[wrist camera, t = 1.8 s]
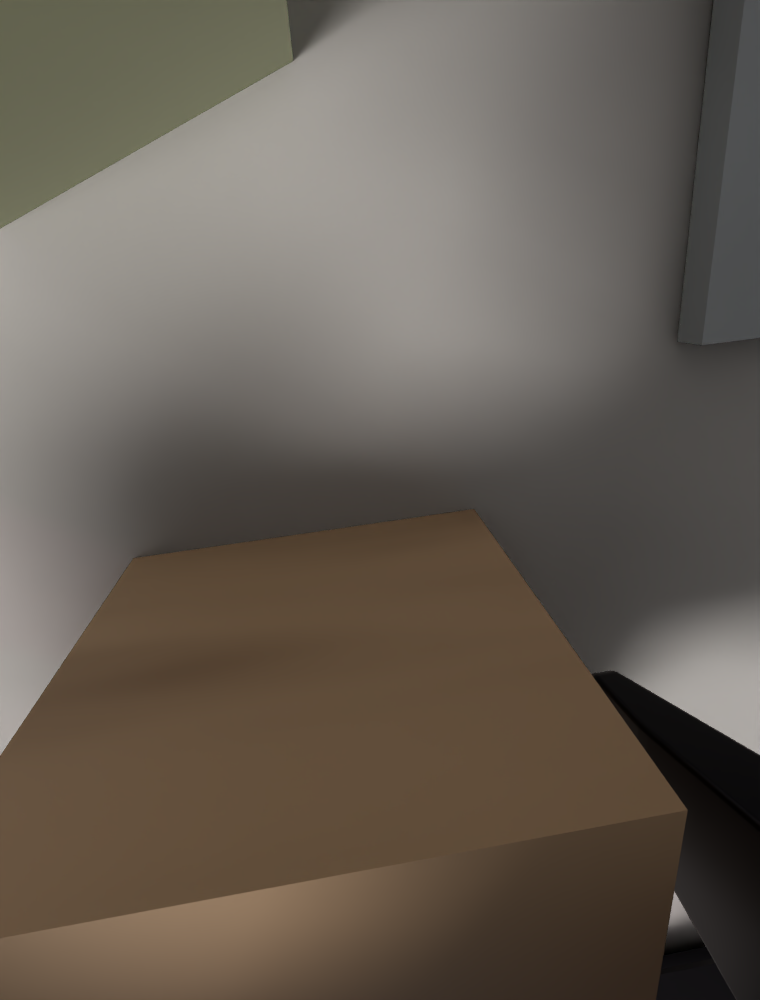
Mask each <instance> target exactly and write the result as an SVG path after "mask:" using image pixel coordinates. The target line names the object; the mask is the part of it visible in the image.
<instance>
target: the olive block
mask: <svg viewBox="0 0 760 1000" xmlns="http://www.w3.org/2000/svg"><path fill="white" fill-rule="evenodd" d="M292 61H293V53H292V44H291V35H290V26H289V17H288V8H287V0H0V228H2V227H4V226H5V225H7V224H9V223H11V222H12V221H14V220H16V219H18V218H19V217H21V216H23V215H25V214H26V213H28V212H30V211H32V210H33V209H35V208H37V207H39V206H40V205H42V204H44V203H46V202H47V201H49V200H51V199H53V198H54V197H56V196H58V195H60V194H61V193H63V192H65V191H67V190H68V189H70V188H72V187H74V186H75V185H77V184H79V183H81V182H82V181H84V180H86V179H88V178H89V177H91V176H93V175H95V174H96V173H98V172H100V171H102V170H103V169H105V168H107V167H109V166H110V165H112V164H114V163H116V162H117V161H119V160H121V159H123V158H124V157H126V156H128V155H130V154H131V153H133V152H135V151H137V150H138V149H140V148H142V147H144V146H145V145H147V144H149V143H151V142H152V141H154V140H156V139H158V138H159V137H161V136H163V135H165V134H166V133H168V132H170V131H172V130H173V129H175V128H177V127H179V126H180V125H182V124H184V123H186V122H187V121H189V120H191V119H193V118H194V117H196V116H198V115H200V114H201V113H203V112H205V111H207V110H208V109H210V108H212V107H214V106H215V105H217V104H219V103H221V102H222V101H224V100H226V99H228V98H229V97H231V96H233V95H235V94H236V93H238V92H240V91H242V90H243V89H245V88H247V87H249V86H250V85H252V84H254V83H256V82H257V81H259V80H261V79H263V78H264V77H266V76H268V75H270V74H271V73H273V72H275V71H277V70H278V69H280V68H282V67H284V66H285V65H287V64H289V63H291V62H292Z"/></svg>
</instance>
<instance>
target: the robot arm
mask: <svg viewBox="0 0 760 1000" xmlns="http://www.w3.org/2000/svg"><path fill="white" fill-rule="evenodd" d="M592 676H593V677H594V679H595V680H596V682H597V683H598V684H599V686H600V687H601V689H602V690H603V692H604V693H605V694H606V696H607V697H608V699H609V700H610V701H611V703H612V704H613V706H614V707H615V708H616V710H617V711H618V713H619V714H620V715H621V717H622V718H623V720H624V721H625V723H626V724H627V725H628V727H629V728H630V730H631V731H632V732H633V734H634V735H635V737H636V738H637V739H638V741H639V742H640V744H641V745H642V746H643V748H644V749H645V751H646V752H647V754H648V755H649V756H650V758H651V759H652V761H653V762H654V763H655V765H656V766H657V768H658V769H659V770H660V772H661V773H662V775H663V776H664V777H665V779H666V780H667V782H668V783H669V784H670V786H671V787H672V789H673V790H674V792H675V793H676V794H677V796H678V797H679V799H680V800H681V801H682V803H683V804H684V806H685V807H686V808H687V810H688V811H687V817H686V823H685V829H684V835H683V841H682V847H681V853H680V859H679V865H678V871H677V877H676V883H675V889H674V891H675V893H676V895H677V896H678V898H679V900H680V902H681V904H682V905H683V907H684V909H685V911H686V912H687V914H688V916H689V918H690V919H691V921H692V923H693V925H694V926H695V928H696V930H697V932H698V933H699V935H700V937H701V939H702V940H703V942H704V944H705V946H706V947H703V948H698V949H693V950H688V951H683V952H678V953H673V954H668V955H663V960H662V966H661V972H660V978H659V984H658V990H657V996H656V1000H760V755H759V754H757V753H755V752H754V751H752V750H750V749H748V748H747V747H745V746H743V745H742V744H740V743H738V742H736V741H735V740H733V739H731V738H730V737H728V736H726V735H724V734H723V733H721V732H719V731H718V730H716V729H714V728H712V727H711V726H709V725H707V724H706V723H704V722H702V721H700V720H699V719H697V718H695V717H694V716H692V715H690V714H688V713H687V712H685V711H683V710H682V709H680V708H678V707H676V706H675V705H673V704H671V703H669V702H668V701H666V700H664V699H663V698H661V697H659V696H657V695H656V694H654V693H652V692H651V691H649V690H647V689H645V688H644V687H642V686H640V685H639V684H637V683H635V682H633V681H632V680H630V679H628V678H627V677H625V676H623V675H621V674H620V673H618V672H616V671H605V672H599V673H594V674H592Z"/></svg>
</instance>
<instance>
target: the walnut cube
mask: <svg viewBox="0 0 760 1000" xmlns="http://www.w3.org/2000/svg"><path fill="white" fill-rule="evenodd" d="M687 811H688V810H687V808H686V807H685V806H684V804H683V803H682V801H681V800H680V799H679V797H678V796H677V794H676V793H675V792H674V790H673V789H672V787H671V786H670V784H669V783H668V782H667V780H666V779H665V777H664V776H663V775H662V773H661V772H660V770H659V769H658V768H657V766H656V765H655V763H654V762H653V761H652V759H651V758H650V756H649V755H648V754H647V752H646V751H645V749H644V748H643V746H642V745H641V744H640V742H639V741H638V739H637V738H636V737H635V735H634V734H633V732H632V731H631V730H630V728H629V727H628V725H627V724H626V723H625V721H624V720H623V718H622V717H621V715H620V714H619V713H618V711H617V710H616V708H615V707H614V706H613V704H612V703H611V701H610V700H609V699H608V697H607V696H606V694H605V693H604V692H603V690H602V689H601V687H600V686H599V684H598V683H597V682H596V680H595V679H594V677H593V676H592V675H591V673H590V672H589V670H588V669H587V668H586V666H585V665H584V663H583V662H582V661H581V659H580V658H579V656H578V655H577V653H576V652H575V651H574V649H573V648H572V646H571V645H570V644H569V642H568V641H567V639H566V638H565V637H564V635H563V634H562V632H561V631H560V630H559V628H558V627H557V625H556V624H555V623H554V621H553V620H552V618H551V617H550V615H549V614H548V613H547V611H546V610H545V608H544V607H543V606H542V604H541V603H540V601H539V600H538V599H537V597H536V596H535V594H534V593H533V592H532V590H531V589H530V587H529V586H528V584H527V583H526V582H525V580H524V579H523V577H522V576H521V575H520V573H519V572H518V570H517V569H516V568H515V566H514V565H513V563H512V562H511V561H510V559H509V558H508V556H507V555H506V553H505V552H504V551H503V549H502V548H501V546H500V545H499V544H498V542H497V541H496V539H495V538H494V537H493V535H492V534H491V532H490V531H489V530H488V528H487V527H486V525H485V524H484V522H483V521H482V520H481V518H480V517H479V515H478V514H477V513H476V511H475V510H474V509H470V510H463V511H456V512H449V513H442V514H435V515H429V516H422V517H415V518H408V519H401V520H394V521H387V522H380V523H373V524H366V525H359V526H353V527H346V528H339V529H332V530H325V531H318V532H311V533H304V534H297V535H290V536H283V537H277V538H270V539H263V540H256V541H249V542H242V543H235V544H228V545H221V546H214V547H207V548H200V549H194V550H187V551H180V552H173V553H166V554H159V555H152V556H145V557H138V558H133V560H132V561H131V563H130V564H129V566H128V567H127V569H126V570H125V571H124V573H123V574H122V576H121V577H120V579H119V580H118V582H117V583H116V585H115V586H114V588H113V589H112V591H111V592H110V594H109V595H108V597H107V598H106V600H105V601H104V603H103V604H102V606H101V607H100V609H99V610H98V612H97V613H96V615H95V616H94V618H93V619H92V620H91V622H90V623H89V625H88V626H87V628H86V629H85V631H84V632H83V634H82V635H81V637H80V638H79V640H78V641H77V643H76V644H75V646H74V647H73V649H72V650H71V652H70V653H69V655H68V656H67V658H66V659H65V661H64V662H63V664H62V665H61V667H60V668H59V669H58V671H57V672H56V674H55V675H54V677H53V678H52V680H51V681H50V683H49V684H48V686H47V687H46V689H45V690H44V692H43V693H42V695H41V696H40V698H39V699H38V701H37V702H36V704H35V705H34V707H33V708H32V710H31V711H30V713H29V714H28V716H27V717H26V718H25V720H24V721H23V723H22V724H21V726H20V727H19V729H18V730H17V732H16V733H15V735H14V736H13V738H12V739H11V741H10V742H9V744H8V745H7V747H6V748H5V750H4V751H3V753H2V754H1V756H0V1000H656V996H657V990H658V984H659V978H660V972H661V966H662V960H663V954H664V948H665V942H666V936H667V930H668V924H669V918H670V912H671V906H672V900H673V894H674V889H675V883H676V877H677V871H678V865H679V859H680V853H681V847H682V841H683V835H684V829H685V823H686V817H687Z"/></svg>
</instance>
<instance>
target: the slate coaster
mask: <svg viewBox="0 0 760 1000" xmlns="http://www.w3.org/2000/svg"><path fill="white" fill-rule="evenodd" d="M755 338H760V0H714V1H713V11H712V20H711V30H710V39H709V48H708V58H707V67H706V77H705V86H704V95H703V105H702V114H701V124H700V133H699V143H698V152H697V161H696V171H695V180H694V190H693V199H692V208H691V218H690V227H689V237H688V246H687V255H686V265H685V274H684V284H683V293H682V302H681V312H680V321H679V331H678V340H677V342H683V343H690V344H696V345H708V344H716V343H724V342H732V341H740V340H747V339H755Z"/></svg>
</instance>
